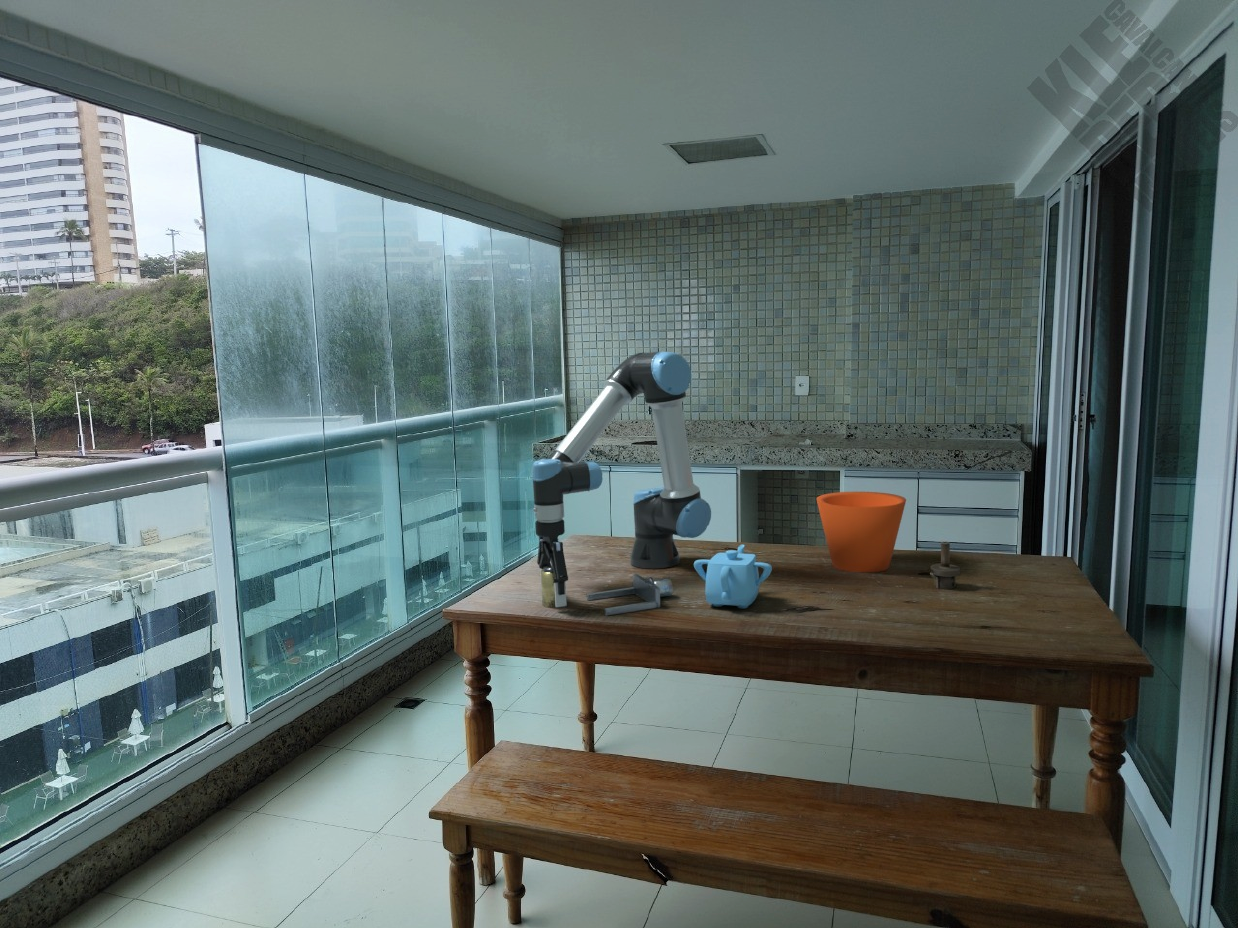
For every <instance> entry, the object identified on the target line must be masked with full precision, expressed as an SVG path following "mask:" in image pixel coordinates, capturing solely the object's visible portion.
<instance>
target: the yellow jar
mask: <svg viewBox="0 0 1238 928" xmlns="http://www.w3.org/2000/svg"><path fill="white" fill-rule="evenodd" d="M560 577H562V576H560ZM553 580H555V576H554V572H553V568H552V564H551V566H546V567H544V569H542V570H541V579H540V591H541V590H542V593H541V605H542V606H543V607H545V608H557V607H556V606H555V586H554V583H553Z"/></svg>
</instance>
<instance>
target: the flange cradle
mask: <svg viewBox="0 0 1238 928" xmlns="http://www.w3.org/2000/svg"><path fill="white" fill-rule="evenodd" d="M632 578H633V579H632V581H633V582H632V583H633V584H632V585H633V586H632V587H625V588H620V589H618V588H617V589H612V590H605V591H598V592H591V593H586V601H595V600H601V599H609V598H616V597H622V596H628V595H637V596H638V597H639V598H641V599H642V600H644V602H639V603H632V604H626V605H619V606H613V607H611V606H610V607H606V608H604V615H605V616H612V615H619V614H626V613H632V612H639V611H644V610H645V611H646V610H652V609H657V608H658V609H659V608H661V598H662V597H670V596H672V595H673V592H674V591H673V590H674V589H673V588H674V587H673V584H672V581H671V579H669V578H664V579H656V580H654V578H653V577H651V576H648V577H645V578H644V577H642V576H641V575H640V574H638V573H635V574H632Z"/></svg>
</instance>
